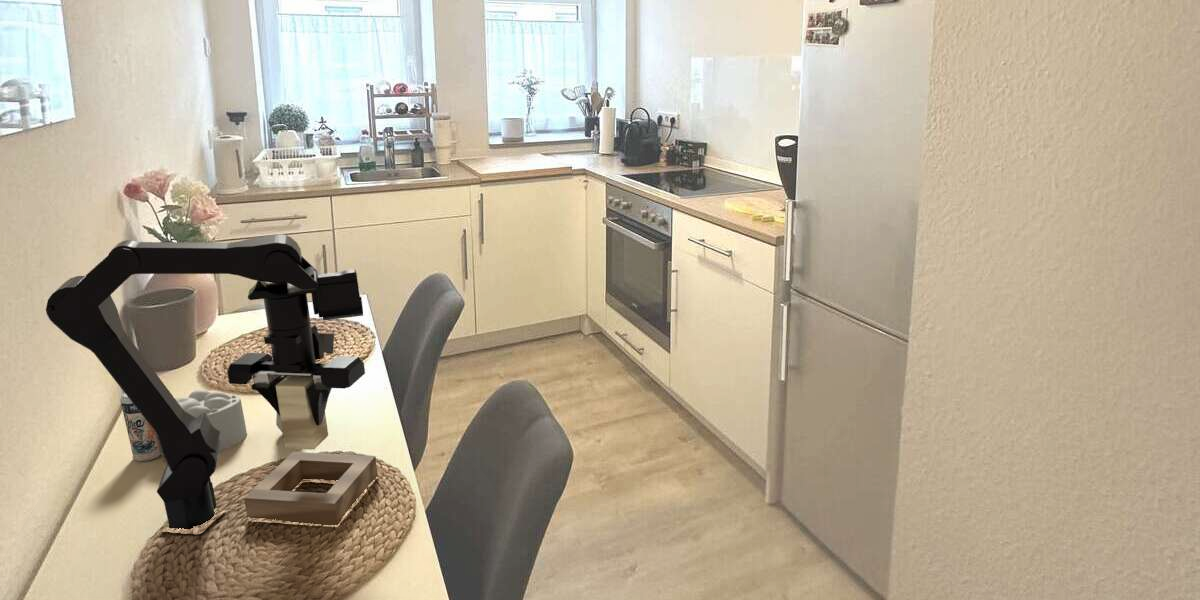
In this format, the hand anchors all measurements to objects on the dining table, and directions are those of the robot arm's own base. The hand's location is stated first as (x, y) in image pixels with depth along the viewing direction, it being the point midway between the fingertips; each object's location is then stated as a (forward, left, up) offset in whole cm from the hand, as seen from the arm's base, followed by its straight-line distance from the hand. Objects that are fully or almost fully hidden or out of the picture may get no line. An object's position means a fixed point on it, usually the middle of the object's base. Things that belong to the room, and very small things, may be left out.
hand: (304, 423), depth 119 cm
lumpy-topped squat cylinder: (+16, +29, -13) cm, 36 cm away
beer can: (+10, +36, -13) cm, 40 cm away
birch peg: (0, 0, -3) cm, 3 cm away
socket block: (0, 0, -13) cm, 13 cm away
